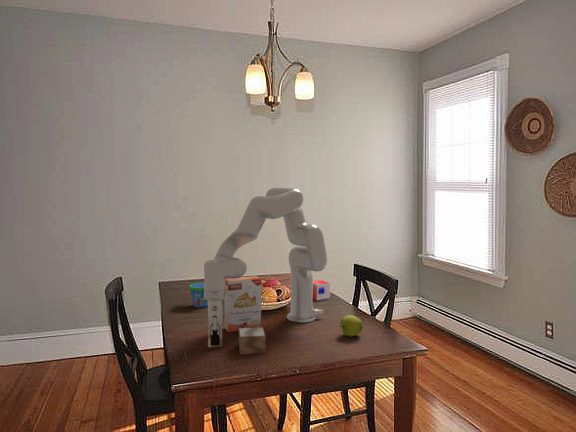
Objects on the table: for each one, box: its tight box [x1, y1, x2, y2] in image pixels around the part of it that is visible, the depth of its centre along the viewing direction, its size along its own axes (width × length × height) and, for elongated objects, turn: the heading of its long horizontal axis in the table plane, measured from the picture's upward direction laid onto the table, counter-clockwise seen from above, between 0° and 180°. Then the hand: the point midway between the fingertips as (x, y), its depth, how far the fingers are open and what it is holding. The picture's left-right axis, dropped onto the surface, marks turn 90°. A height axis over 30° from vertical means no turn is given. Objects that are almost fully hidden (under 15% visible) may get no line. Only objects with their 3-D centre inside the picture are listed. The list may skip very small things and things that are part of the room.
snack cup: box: [188, 282, 208, 309], centre depth 217 cm, size 16×10×10 cm
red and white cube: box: [313, 279, 331, 301], centre depth 234 cm, size 8×8×8 cm
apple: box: [339, 314, 364, 337], centre depth 178 cm, size 8×9×8 cm
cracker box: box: [224, 275, 262, 333], centre depth 185 cm, size 14×6×21 cm, turn 113°
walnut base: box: [238, 326, 267, 355], centre depth 164 cm, size 9×9×6 cm
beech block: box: [207, 323, 223, 348], centre depth 168 cm, size 5×5×7 cm
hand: (215, 341), depth 169 cm, fingers closed on beech block, 5 cm apart
